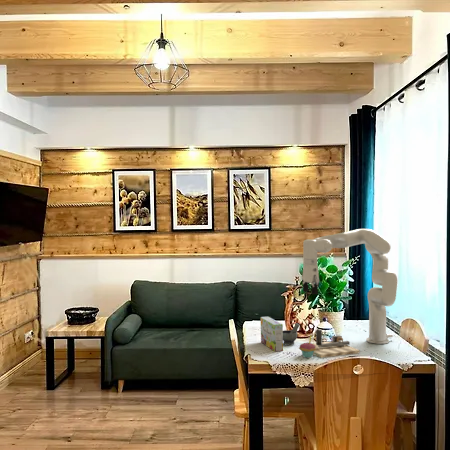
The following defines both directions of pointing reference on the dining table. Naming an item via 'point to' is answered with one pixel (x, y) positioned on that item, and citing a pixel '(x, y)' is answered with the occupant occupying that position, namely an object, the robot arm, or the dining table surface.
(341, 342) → the lever
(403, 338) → the dining table surface
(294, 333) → the mortar and pestle
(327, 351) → the board
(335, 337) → the anvil
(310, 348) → the cupcake
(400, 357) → the dining table surface
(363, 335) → the dining table surface
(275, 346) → the snack box
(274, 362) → the dining table surface
